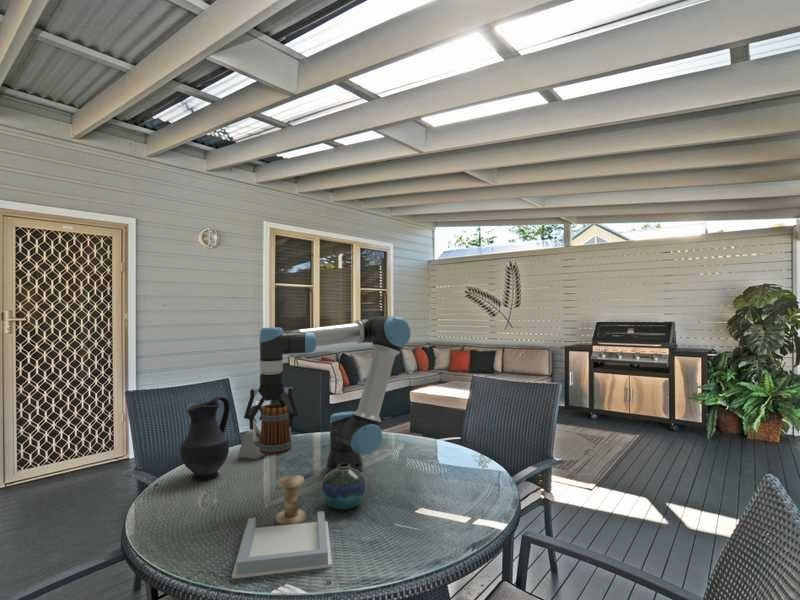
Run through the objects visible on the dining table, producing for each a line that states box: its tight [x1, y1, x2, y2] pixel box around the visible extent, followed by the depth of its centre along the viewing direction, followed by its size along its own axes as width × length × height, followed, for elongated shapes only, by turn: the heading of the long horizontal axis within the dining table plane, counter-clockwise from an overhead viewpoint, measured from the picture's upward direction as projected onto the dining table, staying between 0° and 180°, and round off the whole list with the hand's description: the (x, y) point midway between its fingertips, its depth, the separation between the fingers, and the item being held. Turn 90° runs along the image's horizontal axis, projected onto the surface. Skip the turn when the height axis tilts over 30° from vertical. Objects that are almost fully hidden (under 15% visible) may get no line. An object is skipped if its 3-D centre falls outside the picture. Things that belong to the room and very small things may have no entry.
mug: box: [248, 403, 292, 456], centre depth 155 cm, size 16×11×15 cm
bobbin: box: [275, 474, 307, 525], centre depth 142 cm, size 9×9×12 cm
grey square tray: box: [231, 510, 333, 580], centre depth 125 cm, size 24×24×4 cm
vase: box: [320, 463, 368, 511], centre depth 152 cm, size 15×15×13 cm
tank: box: [237, 425, 292, 461], centre depth 210 cm, size 25×16×12 cm, turn 161°
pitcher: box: [180, 395, 231, 482], centre depth 180 cm, size 17×21×30 cm
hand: (271, 437), depth 155 cm, fingers closed on mug, 10 cm apart
